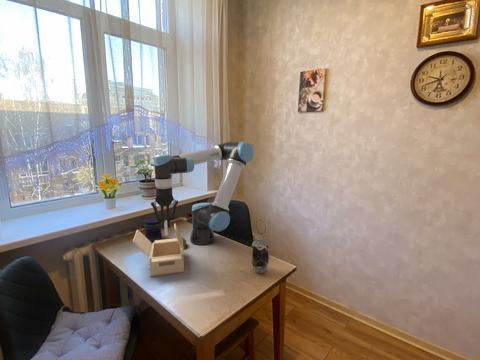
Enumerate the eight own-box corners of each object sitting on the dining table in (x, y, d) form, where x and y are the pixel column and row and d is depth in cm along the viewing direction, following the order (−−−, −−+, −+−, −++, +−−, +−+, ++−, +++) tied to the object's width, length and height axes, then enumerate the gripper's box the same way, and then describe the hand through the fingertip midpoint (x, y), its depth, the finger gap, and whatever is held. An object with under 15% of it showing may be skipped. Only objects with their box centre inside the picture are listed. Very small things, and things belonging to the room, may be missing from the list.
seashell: (183, 256, 143) (192, 245, 147) (181, 251, 137) (190, 239, 141) (170, 248, 146) (179, 237, 150) (167, 243, 140) (177, 232, 145)
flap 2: (174, 234, 115) (175, 233, 115) (174, 223, 130) (175, 223, 130) (183, 252, 117) (184, 251, 118) (181, 239, 132) (182, 239, 132)
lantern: (248, 268, 122) (248, 219, 118) (260, 263, 126) (261, 215, 122) (260, 275, 115) (260, 223, 111) (272, 270, 120) (273, 220, 116)
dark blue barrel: (165, 242, 153) (164, 218, 151) (152, 247, 145) (151, 223, 142) (155, 238, 158) (153, 216, 156) (141, 244, 150) (140, 220, 148)
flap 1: (137, 229, 125) (136, 230, 125) (133, 241, 111) (132, 241, 111) (151, 242, 128) (150, 243, 128) (149, 255, 113) (148, 256, 113)
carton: (181, 252, 138) (181, 237, 137) (184, 276, 115) (183, 257, 113) (153, 256, 134) (152, 240, 133) (150, 280, 111) (148, 262, 109)
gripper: (177, 185, 123) (179, 230, 127) (150, 186, 120) (152, 232, 124) (178, 187, 116) (180, 235, 120) (148, 189, 113) (151, 238, 117)
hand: (166, 234), depth 122 cm, fingers closed
